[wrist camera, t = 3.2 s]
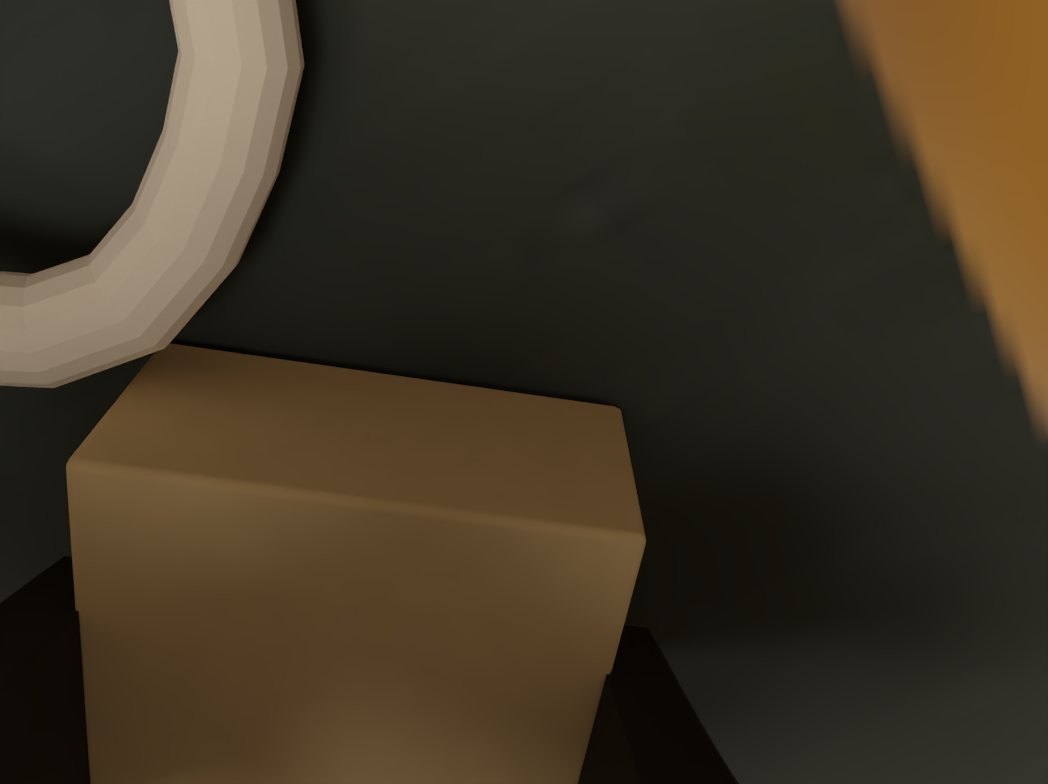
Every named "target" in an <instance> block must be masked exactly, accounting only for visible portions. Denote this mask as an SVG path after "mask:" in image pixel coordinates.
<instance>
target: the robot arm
mask: <svg viewBox="0 0 1048 784" xmlns="http://www.w3.org/2000/svg"><path fill="white" fill-rule="evenodd" d="M0 784H90V771H89V756H88V742H87V727H86V712H85V697H84V682H83V668H82V653H81V638H80V623H79V611H76V608H75V594H74V579H73V564H72V557H67V556H65V557H63V558H62V559H61V560H59V561H58V562H56V563H55V564H53V565H52V566H51V567H49V568H48V569H46V570H45V571H44V572H42V573H41V574H39V575H38V576H37V577H35V578H34V579H32V580H31V581H30V582H28V583H27V584H26V585H24V586H23V587H22V588H20V589H19V590H18V591H16V592H15V593H14V594H12V595H11V596H9V597H8V598H7V599H5V600H4V601H3V602H1V603H0ZM578 784H738V782H737V781H736V779H735V778H734V776H733V774H732V773H731V771H730V770H729V768H728V766H727V765H726V763H725V762H724V760H723V758H722V757H721V755H720V754H719V752H718V750H717V749H716V747H715V745H714V744H713V742H712V740H711V739H710V737H709V735H708V733H707V732H706V730H705V728H704V727H703V725H702V723H701V721H700V720H699V718H698V716H697V714H696V713H695V711H694V709H693V707H692V706H691V704H690V702H689V700H688V699H687V697H686V695H685V693H684V691H683V690H682V688H681V686H680V684H679V682H678V680H677V679H676V677H675V675H674V673H673V671H672V669H671V667H670V666H669V664H668V662H667V660H666V658H665V656H664V654H663V652H662V650H661V649H660V647H659V645H658V643H657V641H656V639H655V637H654V636H653V635H652V633H651V632H650V631H649V629H648V628H641V627H633V626H625V625H624V627H623V630H622V634H621V638H620V642H619V645H618V649H617V653H616V656H615V660H614V664H613V668H612V671H611V673H610V674H606V678H605V682H604V686H603V690H602V693H601V697H600V701H599V705H598V709H597V712H596V716H595V720H594V724H593V728H592V731H591V735H590V739H589V743H588V746H587V750H586V754H585V758H584V762H583V765H582V769H581V773H580V777H579V781H578Z"/></svg>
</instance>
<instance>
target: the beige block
mask: <svg viewBox="0 0 1048 784" xmlns="http://www.w3.org/2000/svg"><path fill="white" fill-rule="evenodd" d="M66 475H67V490H68V505H69V520H70V535H71V549H72V564H73V579H74V594H75V608H76V611H79V623H80V638H81V653H82V668H83V682H84V697H85V712H86V727H87V742H88V756H89V771H90V784H578V781H579V777H580V773H581V769H582V765H583V762H584V758H585V754H586V750H587V746H588V743H589V739H590V735H591V731H592V728H593V724H594V720H595V716H596V712H597V709H598V705H599V701H600V697H601V693H602V690H603V686H604V682H605V678H606V674H610V673H611V671H612V668H613V664H614V660H615V656H616V653H617V649H618V645H619V642H620V638H621V634H622V630H623V627H624V623H625V619H626V615H627V612H628V608H629V604H630V600H631V597H632V593H633V589H634V586H635V582H636V578H637V574H638V571H639V567H640V563H641V559H642V556H643V552H644V548H645V545H646V538H645V532H644V527H643V522H642V517H641V512H640V507H639V501H638V496H637V491H636V486H635V481H634V476H633V470H632V465H631V460H630V455H629V450H628V445H627V440H626V434H625V429H624V424H623V419H622V414H621V410H620V409H619V408H617V407H614V406H608V405H601V404H594V403H587V402H580V401H573V400H566V399H559V398H552V397H545V396H538V395H531V394H523V393H516V392H509V391H502V390H495V389H488V388H481V387H474V386H467V385H460V384H453V383H446V382H439V381H432V380H425V379H418V378H411V377H404V376H396V375H389V374H382V373H375V372H368V371H361V370H354V369H347V368H340V367H333V366H326V365H319V364H312V363H305V362H298V361H291V360H284V359H277V358H270V357H262V356H255V355H248V354H241V353H234V352H227V351H220V350H213V349H206V348H199V347H192V346H185V345H178V344H171V343H169V344H168V345H167V346H166V348H165V349H162V350H159V351H156V352H155V353H154V354H153V355H152V357H151V358H150V359H149V360H148V362H147V363H146V364H145V365H144V367H143V368H142V369H141V370H140V372H139V373H138V374H137V375H136V377H135V378H134V379H133V380H132V382H131V383H130V384H129V385H128V387H127V388H126V389H125V390H124V391H123V393H122V394H121V395H120V396H119V398H118V399H117V400H116V401H115V403H114V404H113V405H112V406H111V408H110V409H109V410H108V411H107V413H106V414H105V415H104V416H103V418H102V419H101V420H100V421H99V423H98V424H97V425H96V426H95V427H94V429H93V430H92V431H91V432H90V434H89V435H88V436H87V437H86V439H85V440H84V441H83V442H82V444H81V445H80V446H79V447H78V449H77V450H76V451H75V452H74V454H73V455H72V456H71V457H70V459H69V460H68V462H67V465H66Z"/></svg>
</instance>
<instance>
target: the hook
mask: <svg viewBox="0 0 1048 784" xmlns="http://www.w3.org/2000/svg"><path fill="white" fill-rule="evenodd" d="M169 2H170V7H171V12H172V18H173V23H174V29H175V34H176V40H177V45H178V55H177V60H176V65H175V71H174V76H173V81H172V86H171V91H170V96H169V101H168V106H167V112H166V117H165V122H164V127H163V131H162V133H161V136H160V138H159V141H158V143H157V146H156V148H155V150H154V153H153V155H152V158H151V160H150V162H149V165H148V167H147V170H146V172H145V175H144V177H143V179H142V182H141V184H140V187H139V189H138V191H137V194H136V196H135V199H134V201H133V203H132V205H131V206H130V207H129V208H128V209H127V211H126V212H125V213H124V214H123V215H122V217H121V218H120V219H119V220H118V221H117V223H116V224H115V225H114V226H113V227H112V229H111V230H110V231H109V232H108V233H107V235H106V236H105V237H104V238H103V239H102V241H101V242H100V243H99V244H98V245H97V247H96V248H95V249H94V250H93V251H92V253H91V254H89V255H86V256H83V257H80V258H78V259H75V260H72V261H69V262H66V263H63V264H60V265H57V266H54V267H51V268H48V269H45V270H42V271H40V272H37V273H34V274H29V273H17V272H5V271H0V386H19V387H40V388H56V387H58V386H61V385H64V384H67V383H69V382H72V381H75V380H78V379H81V378H83V377H86V376H89V375H92V374H95V373H97V372H100V371H103V370H106V369H109V368H111V367H114V366H117V365H120V364H123V363H125V362H128V361H131V360H134V359H137V358H139V357H142V356H145V355H148V354H151V353H153V352H156V351H159V350H162V349H165V348H166V346H167V345H168V344H169V343H170V342H171V341H172V340H173V339H174V338H175V336H176V335H177V334H178V333H179V332H180V331H181V329H182V328H183V327H184V326H185V325H186V324H187V322H188V321H189V320H190V319H191V318H192V317H193V316H194V314H195V313H196V312H197V311H198V310H199V309H200V307H201V306H202V305H203V304H204V303H205V302H206V300H207V299H208V298H209V297H210V296H211V295H212V294H213V292H214V291H215V290H216V289H217V288H218V287H219V285H220V284H221V283H222V282H223V281H224V280H225V278H226V277H227V276H228V275H229V274H230V273H231V272H232V270H233V269H234V268H235V267H236V266H237V265H238V263H239V261H240V259H241V256H242V254H243V252H244V250H245V247H246V245H247V243H248V241H249V239H250V236H251V234H252V232H253V230H254V227H255V225H256V223H257V221H258V219H259V216H260V214H261V212H262V210H263V208H264V205H265V203H266V201H267V199H268V196H269V194H270V192H271V190H272V188H273V185H274V183H275V181H276V179H277V177H278V174H279V172H280V167H281V163H282V159H283V154H284V150H285V146H286V142H287V137H288V133H289V129H290V125H291V120H292V116H293V112H294V108H295V103H296V99H297V95H298V91H299V86H300V82H301V78H302V74H303V69H304V58H303V51H302V43H301V36H300V29H299V21H298V14H297V7H296V0H169Z"/></svg>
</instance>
